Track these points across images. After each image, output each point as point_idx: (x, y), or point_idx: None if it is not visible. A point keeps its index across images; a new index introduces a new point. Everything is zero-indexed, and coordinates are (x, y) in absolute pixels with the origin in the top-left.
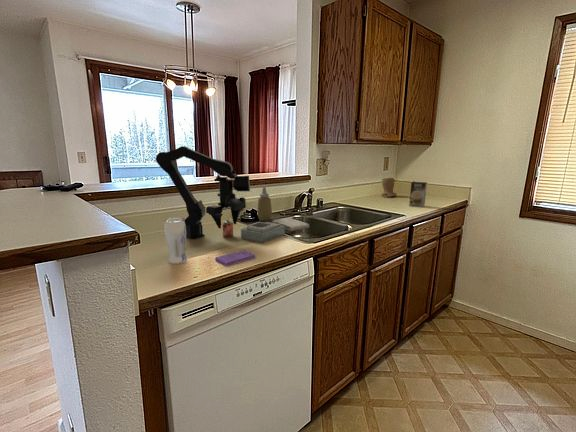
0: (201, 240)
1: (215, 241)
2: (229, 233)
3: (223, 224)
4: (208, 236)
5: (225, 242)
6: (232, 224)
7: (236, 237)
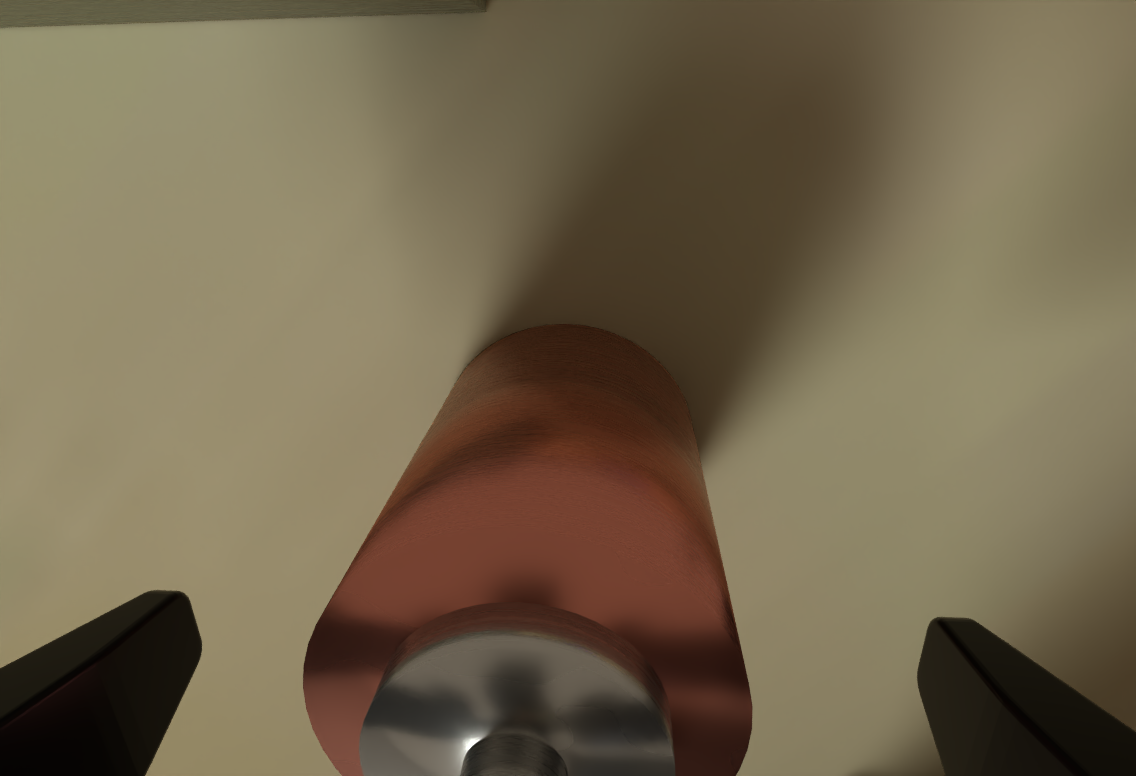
0: (1130, 659)
1: (1079, 383)
2: (626, 383)
3: (744, 735)
4: (820, 726)
5: (1054, 95)
6: (433, 518)
7: (510, 200)
